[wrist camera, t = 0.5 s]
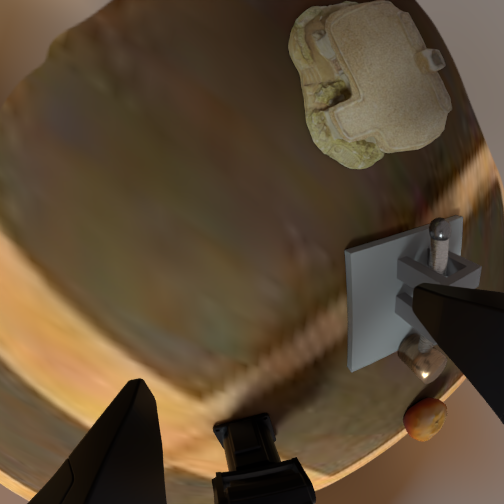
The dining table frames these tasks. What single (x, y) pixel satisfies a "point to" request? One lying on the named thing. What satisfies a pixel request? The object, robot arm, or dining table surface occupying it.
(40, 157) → the dining table surface
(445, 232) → the metal knob rod
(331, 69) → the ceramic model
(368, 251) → the barrel bolt latch
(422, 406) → the fruit
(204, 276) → the dining table surface
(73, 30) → the dining table surface
